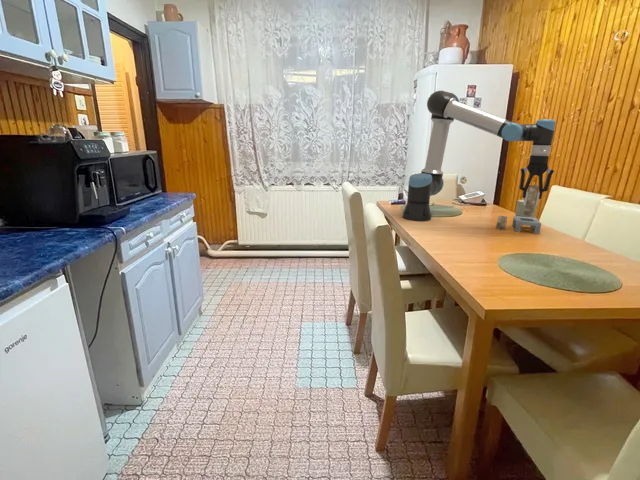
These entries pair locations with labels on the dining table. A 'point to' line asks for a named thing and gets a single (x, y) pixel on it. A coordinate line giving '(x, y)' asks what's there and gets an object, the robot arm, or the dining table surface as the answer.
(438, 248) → the dining table surface
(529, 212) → the long dowel
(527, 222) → the square frame with posts
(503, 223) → the short dowel
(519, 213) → the can
